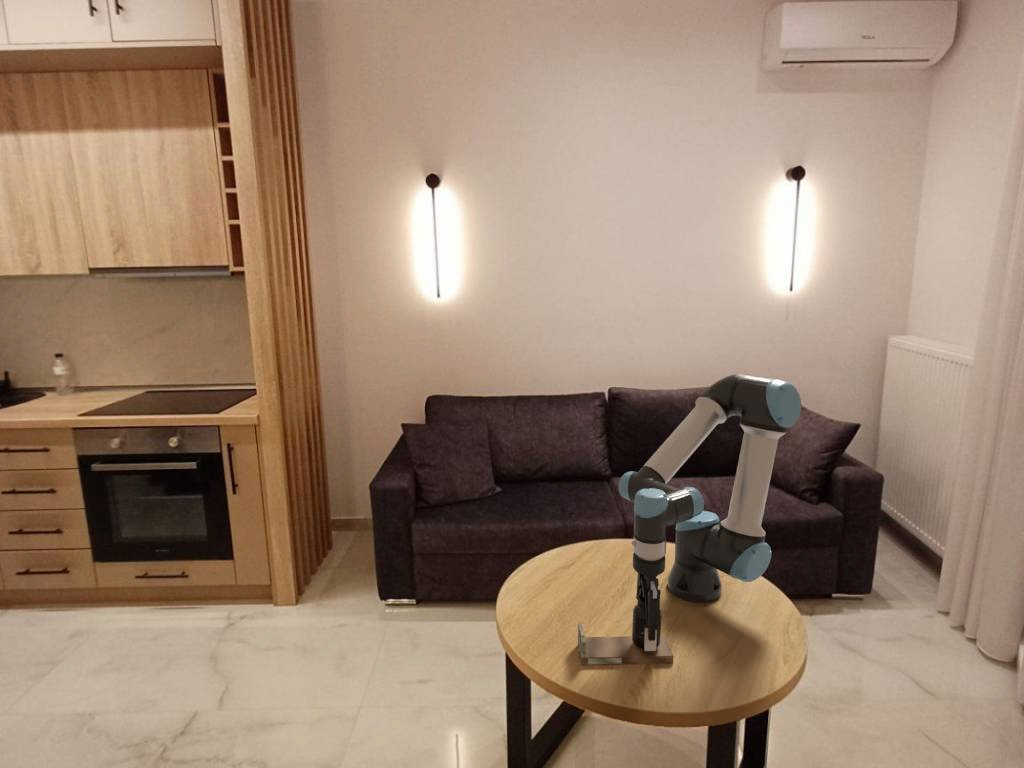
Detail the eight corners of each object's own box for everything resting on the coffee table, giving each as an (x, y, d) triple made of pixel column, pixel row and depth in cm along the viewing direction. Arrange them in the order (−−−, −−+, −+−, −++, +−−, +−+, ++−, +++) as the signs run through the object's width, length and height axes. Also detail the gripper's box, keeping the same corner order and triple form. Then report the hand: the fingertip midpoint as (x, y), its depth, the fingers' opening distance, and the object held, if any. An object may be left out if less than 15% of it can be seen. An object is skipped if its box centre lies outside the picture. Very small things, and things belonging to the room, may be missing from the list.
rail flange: (664, 642, 155) (665, 620, 154) (673, 663, 147) (674, 640, 146) (577, 643, 155) (578, 621, 154) (581, 665, 147) (581, 642, 146)
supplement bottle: (644, 654, 146) (645, 608, 144) (626, 639, 152) (627, 594, 150) (666, 645, 149) (668, 600, 147) (648, 631, 155) (649, 587, 153)
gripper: (625, 535, 155) (623, 617, 160) (642, 575, 136) (639, 666, 141) (655, 535, 155) (652, 617, 160) (676, 574, 136) (672, 666, 141)
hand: (646, 640), depth 150 cm, fingers closed on supplement bottle, 7 cm apart
